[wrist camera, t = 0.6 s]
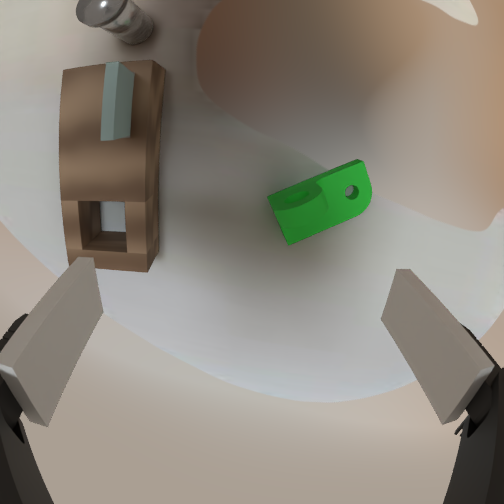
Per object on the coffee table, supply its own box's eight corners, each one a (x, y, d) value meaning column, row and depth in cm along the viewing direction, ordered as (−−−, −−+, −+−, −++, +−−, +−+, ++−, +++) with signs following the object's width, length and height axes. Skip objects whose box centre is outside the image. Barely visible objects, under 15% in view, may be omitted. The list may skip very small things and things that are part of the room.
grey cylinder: (121, 14, 26) (81, -14, 16) (159, 10, 26) (127, -25, 16) (115, 49, 27) (71, 28, 18) (153, 45, 27) (118, 19, 18)
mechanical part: (285, 239, 39) (298, 268, 31) (266, 196, 36) (275, 216, 29) (370, 202, 37) (400, 222, 30) (357, 159, 35) (386, 169, 28)
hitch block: (87, 75, 28) (63, 70, 23) (165, 69, 29) (152, 59, 24) (88, 245, 37) (69, 265, 31) (158, 250, 38) (147, 272, 32)
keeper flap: (125, 73, 24) (106, 60, 17) (135, 73, 24) (119, 59, 17) (121, 137, 26) (100, 143, 20) (131, 137, 26) (113, 142, 20)
